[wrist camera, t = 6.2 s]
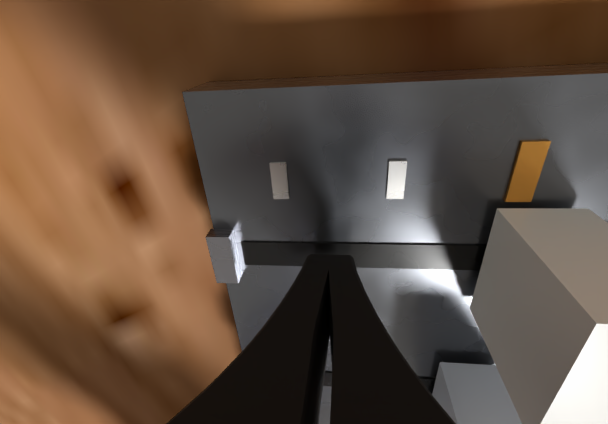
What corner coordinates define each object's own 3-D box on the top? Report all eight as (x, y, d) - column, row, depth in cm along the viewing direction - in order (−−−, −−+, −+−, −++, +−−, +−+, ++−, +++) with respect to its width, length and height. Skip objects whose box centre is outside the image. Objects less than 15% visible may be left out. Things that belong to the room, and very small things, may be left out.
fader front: (469, 308, 11) (530, 441, 8) (496, 208, 9) (596, 323, 6) (543, 311, 11) (644, 451, 7) (588, 208, 9) (755, 330, 5)
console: (266, 398, 19) (257, 445, 17) (205, 82, 11) (170, 95, 8) (498, 416, 18) (519, 469, 16) (652, 60, 9) (750, 70, 7)
